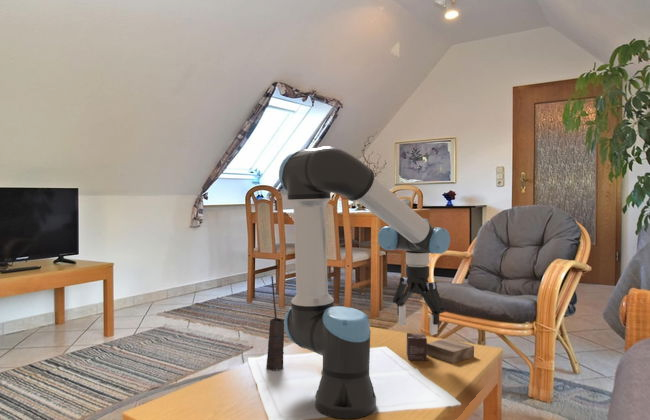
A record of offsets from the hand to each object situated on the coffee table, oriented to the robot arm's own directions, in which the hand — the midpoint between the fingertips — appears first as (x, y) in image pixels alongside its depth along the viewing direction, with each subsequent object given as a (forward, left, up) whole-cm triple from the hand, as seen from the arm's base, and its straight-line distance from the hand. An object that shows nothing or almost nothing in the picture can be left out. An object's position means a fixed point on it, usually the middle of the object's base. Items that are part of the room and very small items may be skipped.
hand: (417, 329), depth 150 cm
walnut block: (+11, -5, -10) cm, 15 cm away
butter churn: (-42, +18, -10) cm, 47 cm away
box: (0, 0, -10) cm, 10 cm away
